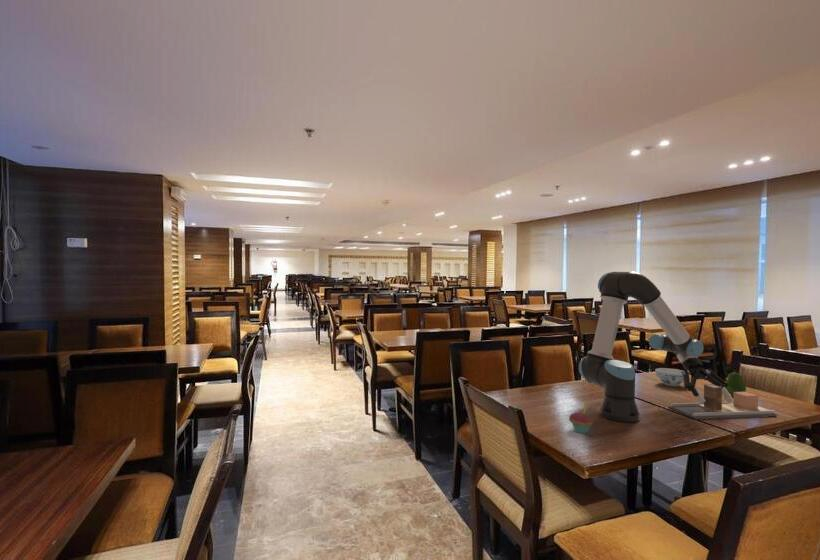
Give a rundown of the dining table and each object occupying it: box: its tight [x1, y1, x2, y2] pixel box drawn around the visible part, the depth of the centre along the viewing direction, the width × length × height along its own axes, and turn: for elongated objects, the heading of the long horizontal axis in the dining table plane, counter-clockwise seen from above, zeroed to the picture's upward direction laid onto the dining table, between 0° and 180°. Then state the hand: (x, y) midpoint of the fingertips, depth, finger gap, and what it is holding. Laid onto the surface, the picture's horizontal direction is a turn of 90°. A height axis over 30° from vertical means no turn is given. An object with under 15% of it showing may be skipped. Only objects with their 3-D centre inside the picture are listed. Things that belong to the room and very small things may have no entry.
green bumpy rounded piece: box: [725, 371, 747, 396], centre depth 199 cm, size 8×8×12 cm
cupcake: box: [568, 402, 594, 434], centre depth 153 cm, size 9×8×12 cm
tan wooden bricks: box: [698, 383, 769, 412], centre depth 175 cm, size 26×10×11 cm, turn 95°
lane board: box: [668, 401, 778, 420], centre depth 175 cm, size 38×15×2 cm, turn 95°
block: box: [732, 391, 759, 409], centre depth 176 cm, size 6×6×6 cm
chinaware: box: [654, 367, 684, 387], centre depth 220 cm, size 15×15×8 cm
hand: (717, 402), depth 172 cm, fingers open, 13 cm apart
